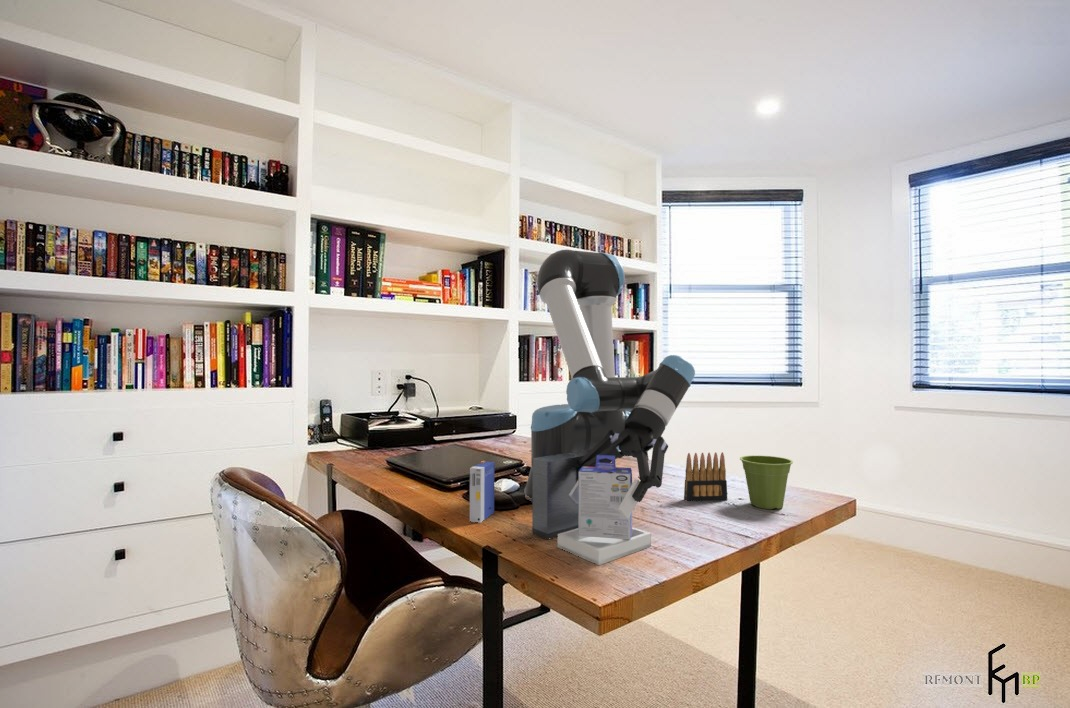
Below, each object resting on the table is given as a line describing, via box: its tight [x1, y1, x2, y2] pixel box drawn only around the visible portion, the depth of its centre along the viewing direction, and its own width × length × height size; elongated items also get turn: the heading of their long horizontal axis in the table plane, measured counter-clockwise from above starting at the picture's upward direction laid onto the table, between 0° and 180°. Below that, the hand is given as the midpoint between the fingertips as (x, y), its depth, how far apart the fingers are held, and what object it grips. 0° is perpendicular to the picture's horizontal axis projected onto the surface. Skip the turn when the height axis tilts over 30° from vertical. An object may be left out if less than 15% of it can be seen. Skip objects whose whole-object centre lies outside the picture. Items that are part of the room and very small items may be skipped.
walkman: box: [469, 460, 496, 524], centre depth 114 cm, size 8×3×12 cm, turn 162°
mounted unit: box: [531, 449, 593, 540], centre depth 107 cm, size 5×18×15 cm, turn 129°
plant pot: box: [739, 455, 794, 510], centre depth 124 cm, size 12×12×11 cm
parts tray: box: [557, 526, 652, 566], centre depth 96 cm, size 11×14×2 cm
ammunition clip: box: [683, 452, 728, 503], centre depth 129 cm, size 11×2×12 cm, turn 96°
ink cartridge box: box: [578, 455, 633, 539], centre depth 96 cm, size 10×6×14 cm, turn 79°
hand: (596, 506), depth 94 cm, fingers open, 12 cm apart
